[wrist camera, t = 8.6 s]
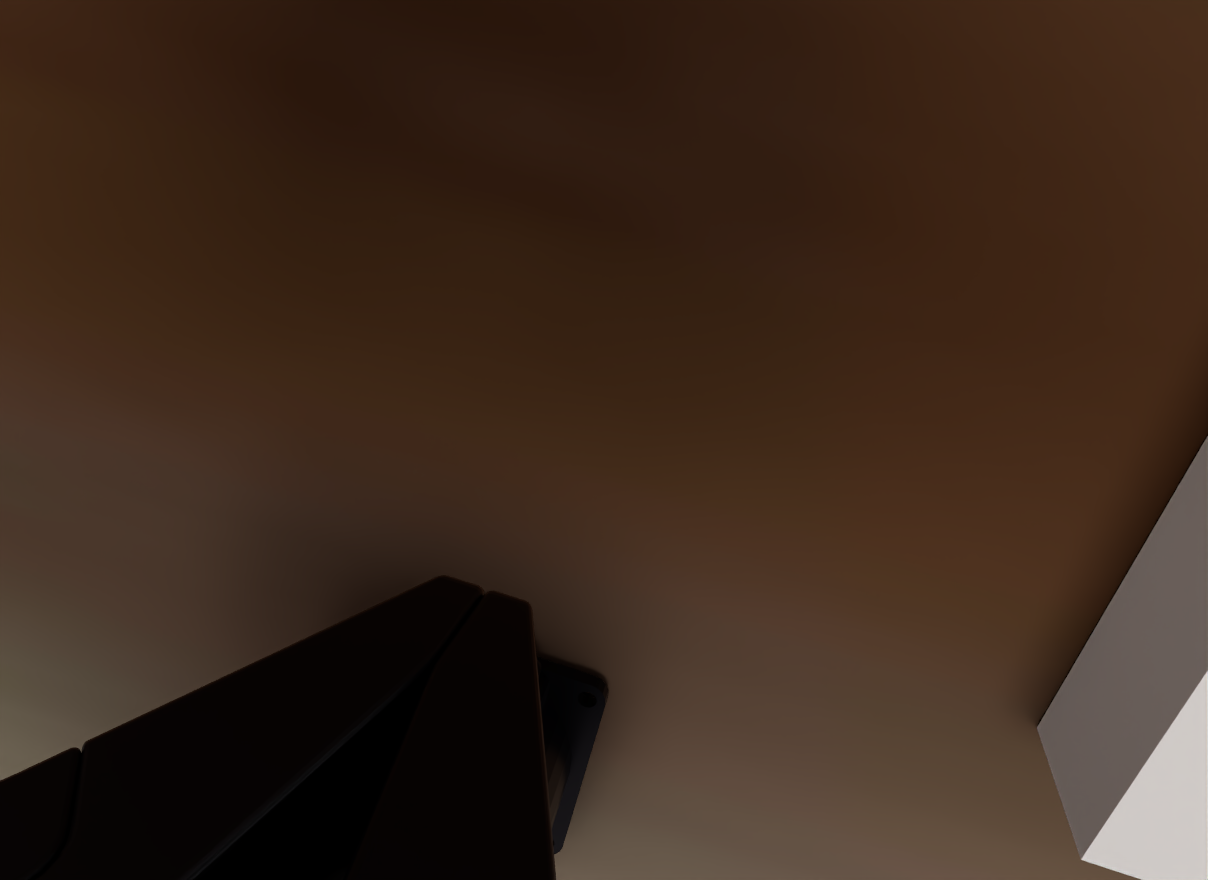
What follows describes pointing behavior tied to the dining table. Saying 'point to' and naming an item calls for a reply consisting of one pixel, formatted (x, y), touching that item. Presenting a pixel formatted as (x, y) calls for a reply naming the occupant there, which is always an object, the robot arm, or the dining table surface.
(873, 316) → the dining table surface
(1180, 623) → the button panel
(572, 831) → the dining table surface
